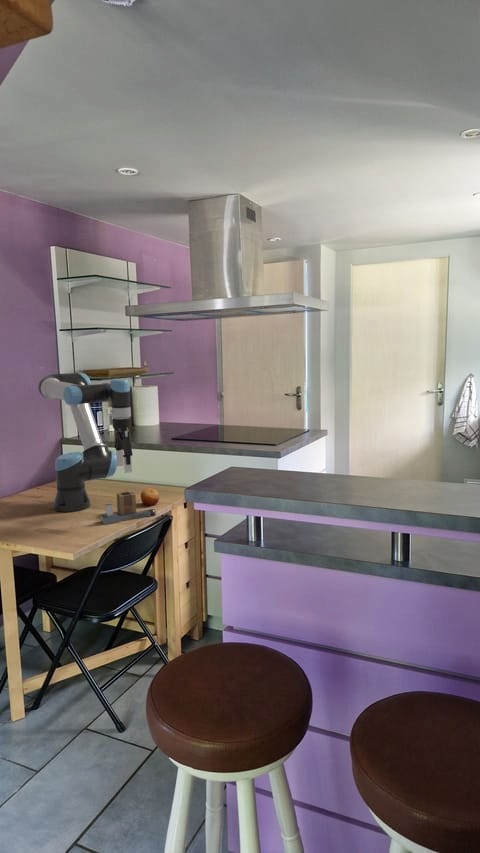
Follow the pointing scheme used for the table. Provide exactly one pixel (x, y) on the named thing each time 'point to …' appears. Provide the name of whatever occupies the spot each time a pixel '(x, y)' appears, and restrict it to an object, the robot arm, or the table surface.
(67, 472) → the robot arm
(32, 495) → the table surface
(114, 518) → the grey lever handle
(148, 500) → the fruit
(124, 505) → the socket collar
